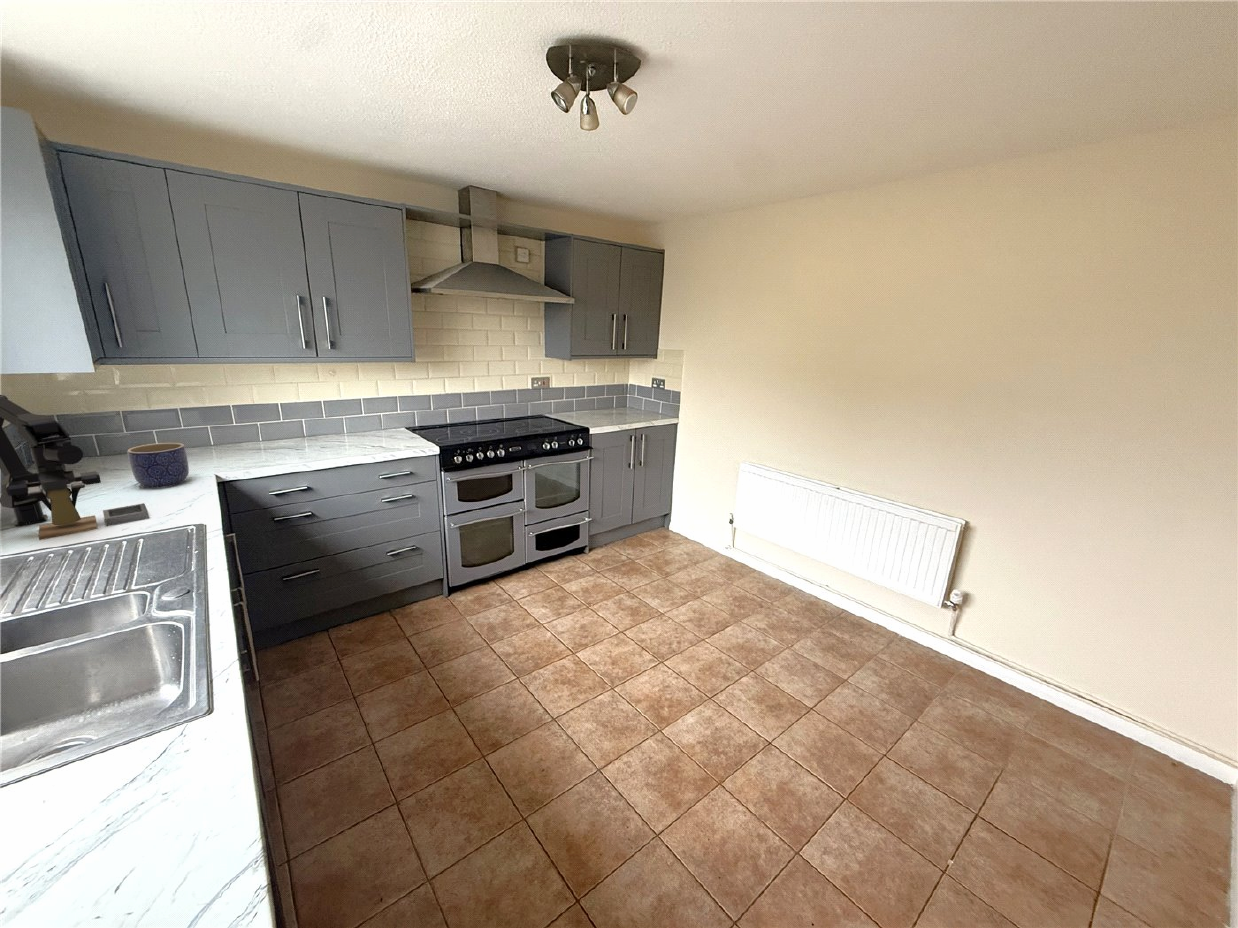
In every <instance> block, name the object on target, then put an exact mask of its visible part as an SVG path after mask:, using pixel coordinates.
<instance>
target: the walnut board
mask: <svg viewBox="0 0 1238 928" xmlns="http://www.w3.org/2000/svg"><path fill="white" fill-rule="evenodd" d="M80 518H81V520H79V521H77V522H74V523H70V524H65V525H53V524H52V522H50V523H44V524H39V525H38V536H37V537H38V540H39V541H41V540H46V539H51V538H57V537H64V536H67V535H73V534H77V533H84V532H88V531H94V530H98V524H97V517H96V515H94V514H93V515H90V516H89V515H88V516H84V517H80Z"/></svg>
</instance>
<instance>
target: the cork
mask: <svg viewBox="0 0 1238 928" xmlns="http://www.w3.org/2000/svg"><path fill="white" fill-rule="evenodd" d="M46 497H47V498H48V499H49V501H50V504H51V511H50V513H51V516H50V517H51V523H52V524H53V525H65V524H70V523H74V522H77V521H79V520H81V518H82V517H81V516H80V514H79V512H78V510H77V508H76V506H75V507H74V505H73V504H72V494H71V488H70V487H69V486H67V488H65V489H55V490H51V491H46Z"/></svg>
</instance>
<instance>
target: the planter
mask: <svg viewBox="0 0 1238 928" xmlns="http://www.w3.org/2000/svg"><path fill="white" fill-rule="evenodd" d="M126 453H127V457H128V461H129V465H130V469H131V471H132V475H133V477H134V480H135V481H136V482H137V483H138V484H140V485H141V486H142V487H146V488H157V489H158V488H165V487H167V488H168V487H171V486H175V485H178V484H181V483H183V482H184V481H185V480H186V479H187V478H188V476H189V473H190V472H189V471H190V469H189V460H188V455H187V451H186V447H185V444H184V443H181V442H157V443H148V444H141V445H138V446H134V447H131V448H129V449H128V450H126Z"/></svg>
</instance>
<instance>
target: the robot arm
mask: <svg viewBox="0 0 1238 928" xmlns="http://www.w3.org/2000/svg"><path fill="white" fill-rule="evenodd" d="M5 421H6V422H8V423H9V424H12V425H13V426H15V427H16V429H17V431H16V432H17V434H19V436H21V437H22V438H23V439H24V440H25V441H26V442H25V445H26V446H29V448H30V452H31V455H32V458H33V461H34V465H35V468H36V471H37V472H35V473H34V472H32V471H29V470H28V469H27V468H26V466H25V465H24V462H23V461H22V459H21V457H20V456H19V454H18V452H17V450H16V448H15V447H14V445H13V443H12V442H11V440H10V438H9V437H8V434H7V433H6V432H5V429H4V428H3V426H4V422H5ZM71 440H72V438H71V437H70V433H69V432H67V431H66V429H64V427H62V425H61V424H60V423H59V422H58V421H57V420H56V419H54V418H53V417H50V416H47V415H43V414H42V415H41V414H35V413H32V412H30V411H28V410H27V409H25V408H23V407H21V405H18V404H17V403H15V402H14V401H11V400H10V399H9V398H8V397H7V396H6V395H4V394H0V471H1V473H2V475H3V480H2V483H1V489H2V493H1V495H0V505H1V507H2V508H8V509H12V510H13V513H14V516H15V521H14V527H19V526H25V525H26V526H27V525H31V524H36V523H37V524H38V523H43V522H44V523H45V522H47V519H48V515H47V514H44V512H43V508H42V505H41V502H42V503H43V504H44V505H45V506H46V508H47V509H48V510H49V511H50V512H51V504H50V499H48V498H47V497H46V491H51V490H55V489H65V488H67V487H68V485H70V490H71V500H72V504H73V505H74V507H75V508H76V505H77V499H78V496H79V492H80V490H81V489H84V488H86V486H88V485H95V484H97V485H98V484H101V483H102V481H101V478H100V472H98V471H96V470H93V471H87V472H86V471H84V472H80V475H79V476H75V473H74V470H67V468H66V465H76V464H78V463H79V462H80V461H81V460H82V459H83V456H84V451H83V450H82V449H81V448H80V447H79V446H76V445H73V444H72V442H71Z"/></svg>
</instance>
